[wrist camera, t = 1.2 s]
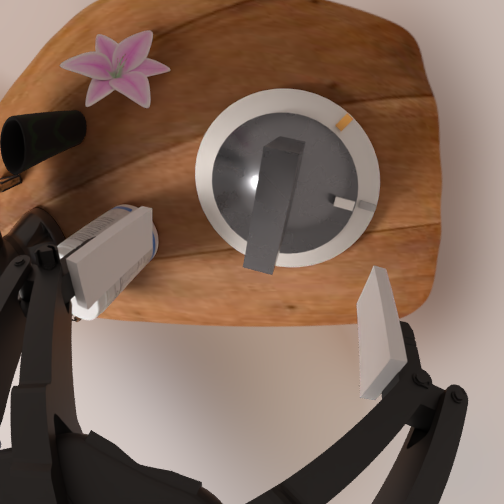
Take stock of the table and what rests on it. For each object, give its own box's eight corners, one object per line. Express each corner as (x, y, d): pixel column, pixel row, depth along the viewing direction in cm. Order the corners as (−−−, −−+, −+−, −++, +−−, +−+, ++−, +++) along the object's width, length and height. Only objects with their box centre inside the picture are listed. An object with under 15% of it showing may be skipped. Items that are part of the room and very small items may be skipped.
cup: (94, 148, 34) (30, 171, 24) (63, 155, 36) (5, 178, 25) (88, 98, 30) (22, 109, 20) (58, 110, 32) (-3, 124, 22)
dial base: (196, 236, 37) (189, 244, 35) (213, 79, 27) (205, 77, 25) (346, 275, 34) (347, 285, 33) (396, 117, 24) (401, 118, 22)
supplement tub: (104, 238, 41) (42, 289, 29) (118, 190, 36) (41, 234, 24) (151, 272, 42) (95, 335, 29) (171, 225, 37) (103, 287, 25)
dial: (209, 231, 33) (174, 271, 26) (224, 101, 26) (185, 101, 18) (334, 263, 32) (335, 315, 24) (373, 133, 24) (395, 144, 16)
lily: (173, 121, 31) (162, 92, 22) (86, 135, 29) (51, 115, 20) (174, 44, 29) (168, 3, 20) (94, 58, 28) (69, 25, 18)
